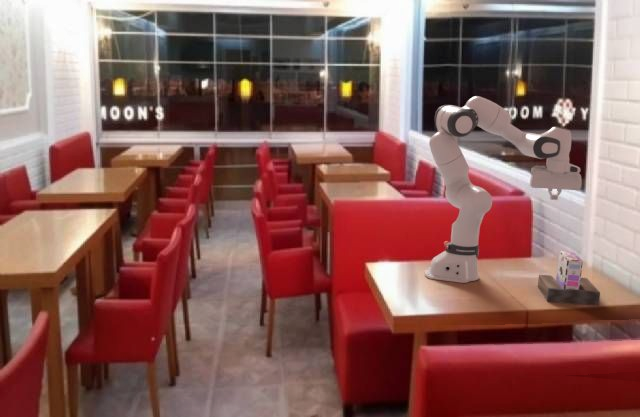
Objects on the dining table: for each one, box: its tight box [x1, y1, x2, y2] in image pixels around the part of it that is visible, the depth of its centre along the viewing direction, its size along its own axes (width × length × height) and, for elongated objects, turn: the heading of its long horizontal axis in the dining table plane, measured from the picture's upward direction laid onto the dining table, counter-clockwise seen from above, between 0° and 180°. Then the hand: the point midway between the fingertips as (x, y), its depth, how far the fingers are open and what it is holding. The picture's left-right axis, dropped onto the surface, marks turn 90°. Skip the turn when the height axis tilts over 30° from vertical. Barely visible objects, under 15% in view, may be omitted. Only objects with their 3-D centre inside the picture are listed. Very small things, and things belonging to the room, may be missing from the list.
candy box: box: [555, 250, 583, 290], centre depth 261 cm, size 14×6×16 cm, turn 173°
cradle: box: [537, 274, 601, 306], centre depth 263 cm, size 19×19×5 cm
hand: (553, 199), depth 282 cm, fingers closed
